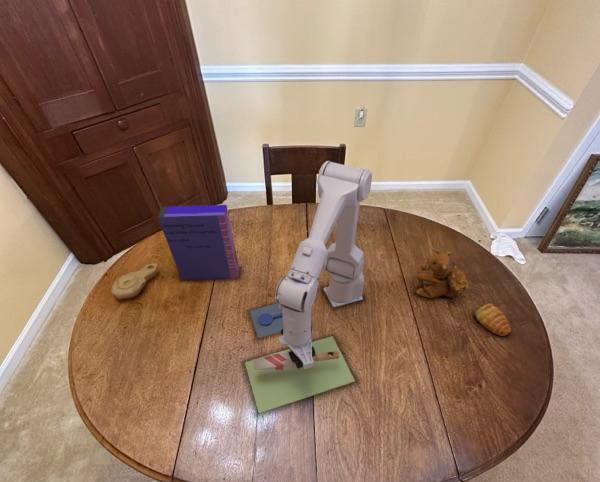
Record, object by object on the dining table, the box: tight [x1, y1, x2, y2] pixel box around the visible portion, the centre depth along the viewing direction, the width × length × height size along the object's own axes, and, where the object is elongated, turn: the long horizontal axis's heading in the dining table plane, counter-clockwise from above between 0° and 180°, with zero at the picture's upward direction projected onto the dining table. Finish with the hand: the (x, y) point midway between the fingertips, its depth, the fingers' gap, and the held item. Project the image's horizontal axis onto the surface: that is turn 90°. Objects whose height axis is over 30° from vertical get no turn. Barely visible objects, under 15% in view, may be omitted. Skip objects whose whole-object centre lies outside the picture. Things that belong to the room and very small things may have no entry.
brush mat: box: [244, 335, 356, 415], centre depth 86 cm, size 24×14×1 cm, turn 109°
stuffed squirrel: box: [415, 251, 470, 299], centre depth 100 cm, size 10×14×13 cm
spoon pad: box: [249, 302, 284, 339], centre depth 98 cm, size 14×10×1 cm
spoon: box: [258, 313, 283, 326], centre depth 98 cm, size 14×4×1 cm, turn 109°
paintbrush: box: [253, 351, 339, 370], centre depth 82 cm, size 4×3×20 cm
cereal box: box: [157, 204, 240, 281], centre depth 102 cm, size 17×5×24 cm, turn 92°
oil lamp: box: [111, 263, 159, 300], centre depth 105 cm, size 11×14×5 cm
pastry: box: [474, 303, 512, 337], centre depth 94 cm, size 9×7×4 cm
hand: (298, 358), depth 82 cm, fingers closed on paintbrush, 4 cm apart
